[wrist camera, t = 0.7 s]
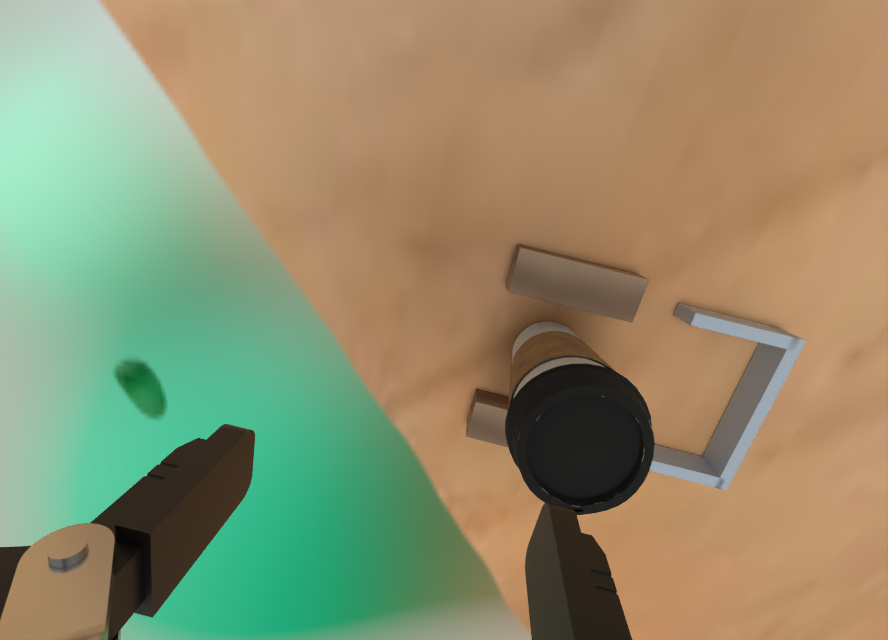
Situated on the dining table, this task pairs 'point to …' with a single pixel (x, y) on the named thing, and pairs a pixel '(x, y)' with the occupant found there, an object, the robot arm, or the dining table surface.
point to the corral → (734, 399)
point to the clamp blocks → (566, 287)
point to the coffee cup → (575, 422)
